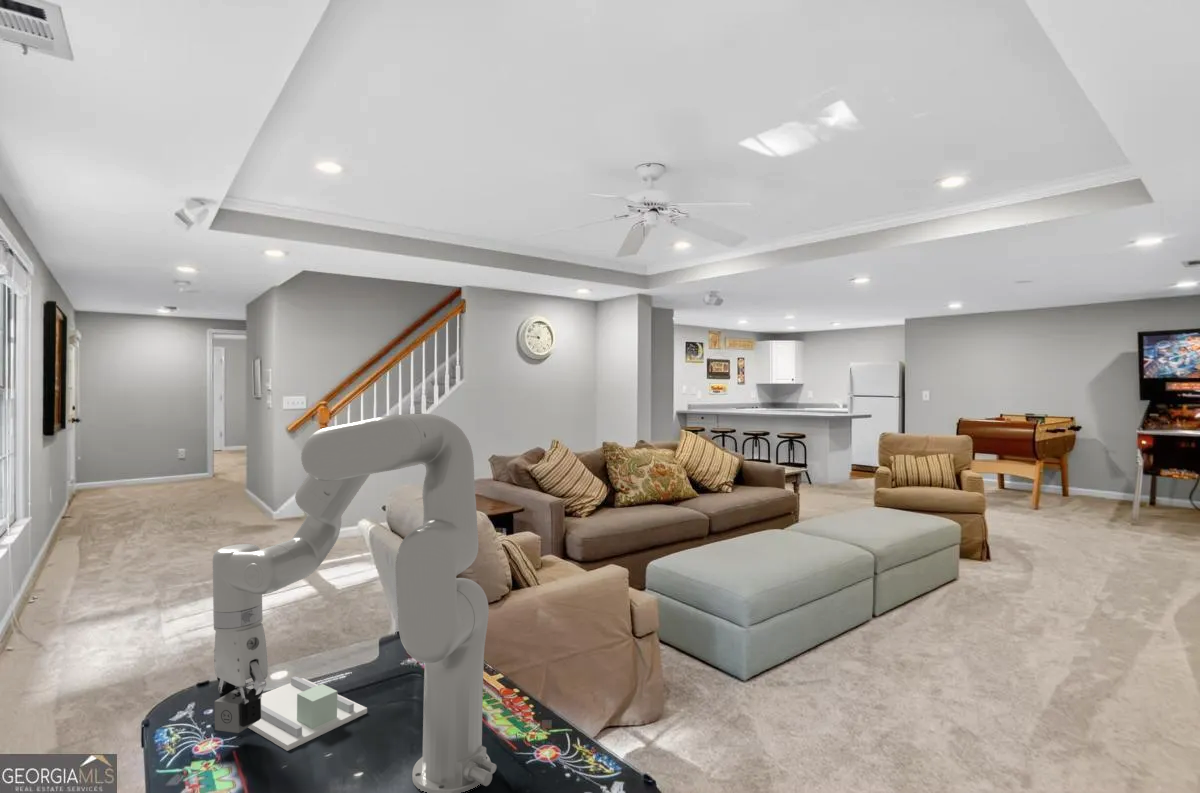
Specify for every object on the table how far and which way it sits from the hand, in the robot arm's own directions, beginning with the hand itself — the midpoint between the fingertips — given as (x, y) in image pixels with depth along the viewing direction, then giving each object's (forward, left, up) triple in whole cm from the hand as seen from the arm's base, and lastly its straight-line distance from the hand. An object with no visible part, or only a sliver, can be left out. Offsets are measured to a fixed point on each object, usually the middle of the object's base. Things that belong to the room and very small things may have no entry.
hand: (240, 716), depth 110 cm
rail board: (+2, -12, -5) cm, 13 cm away
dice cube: (0, 0, -1) cm, 1 cm away
